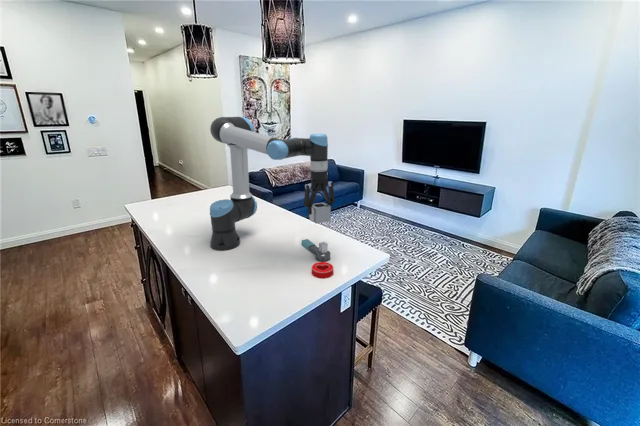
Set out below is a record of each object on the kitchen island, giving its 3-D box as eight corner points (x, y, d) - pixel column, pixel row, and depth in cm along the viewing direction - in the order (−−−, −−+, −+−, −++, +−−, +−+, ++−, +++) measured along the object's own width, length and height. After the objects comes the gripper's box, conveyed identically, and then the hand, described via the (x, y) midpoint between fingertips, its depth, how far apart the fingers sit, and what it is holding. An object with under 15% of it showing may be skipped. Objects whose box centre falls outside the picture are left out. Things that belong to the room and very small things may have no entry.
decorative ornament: (317, 280, 124) (317, 274, 123) (308, 270, 132) (308, 264, 131) (337, 276, 127) (337, 269, 126) (327, 266, 136) (327, 259, 135)
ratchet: (298, 245, 156) (298, 231, 153) (310, 242, 159) (310, 229, 157) (320, 263, 138) (320, 247, 135) (332, 259, 141) (333, 244, 138)
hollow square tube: (316, 223, 131) (315, 208, 129) (309, 218, 137) (308, 204, 135) (330, 220, 134) (330, 206, 132) (323, 216, 140) (323, 202, 138)
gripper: (301, 173, 121) (302, 225, 128) (343, 169, 130) (342, 218, 137) (294, 170, 127) (296, 220, 135) (335, 167, 136) (334, 213, 143)
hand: (319, 219), depth 136 cm, fingers closed on hollow square tube, 7 cm apart
